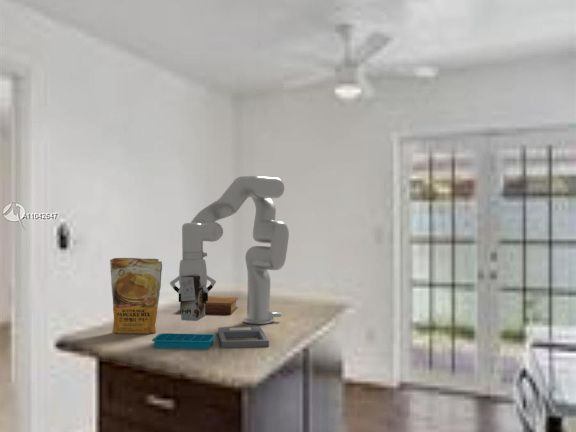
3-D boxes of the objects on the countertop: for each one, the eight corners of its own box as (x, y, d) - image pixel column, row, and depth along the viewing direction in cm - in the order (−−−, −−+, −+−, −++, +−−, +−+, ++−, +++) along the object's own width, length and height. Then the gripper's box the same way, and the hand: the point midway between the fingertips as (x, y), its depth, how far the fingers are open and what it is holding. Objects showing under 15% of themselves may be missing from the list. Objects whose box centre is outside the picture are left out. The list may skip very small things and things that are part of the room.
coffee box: (197, 321, 211) (197, 276, 210) (180, 320, 212) (180, 276, 212) (206, 316, 220) (205, 273, 219) (189, 315, 221) (189, 273, 221)
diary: (180, 315, 262) (180, 302, 262) (190, 308, 280) (190, 295, 280) (230, 315, 260) (230, 302, 260) (237, 308, 279) (237, 296, 279)
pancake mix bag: (111, 330, 224) (112, 257, 224) (161, 330, 224) (162, 257, 224) (106, 334, 217) (107, 258, 217) (158, 334, 217) (159, 259, 217)
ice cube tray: (210, 350, 195) (210, 341, 195) (150, 349, 196) (150, 340, 196) (216, 342, 207) (216, 334, 207) (159, 341, 208) (159, 333, 208)
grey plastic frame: (259, 331, 225) (259, 325, 225) (268, 346, 201) (268, 340, 201) (217, 332, 222) (218, 326, 222) (222, 347, 198) (222, 341, 198)
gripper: (216, 254, 221) (216, 300, 221) (168, 255, 218) (169, 302, 218) (217, 256, 213) (217, 304, 214) (168, 258, 210) (169, 306, 211)
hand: (193, 303), depth 216 cm, fingers closed on coffee box, 8 cm apart
